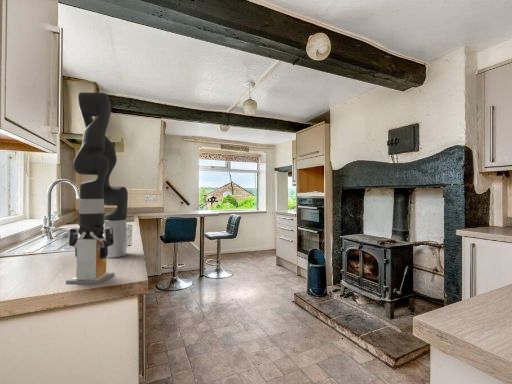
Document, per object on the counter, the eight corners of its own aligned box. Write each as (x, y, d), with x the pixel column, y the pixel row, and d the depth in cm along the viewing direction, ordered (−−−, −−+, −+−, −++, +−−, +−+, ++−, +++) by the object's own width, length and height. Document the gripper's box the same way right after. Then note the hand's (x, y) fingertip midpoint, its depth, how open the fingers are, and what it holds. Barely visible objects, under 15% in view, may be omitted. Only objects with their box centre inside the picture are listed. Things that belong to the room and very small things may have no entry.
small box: (96, 279, 86) (96, 240, 86) (75, 280, 85) (75, 240, 85) (106, 271, 94) (107, 236, 94) (88, 272, 93) (88, 236, 93)
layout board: (84, 274, 94) (84, 271, 94) (114, 275, 94) (114, 272, 94) (66, 283, 85) (66, 279, 85) (98, 283, 85) (98, 280, 85)
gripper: (117, 211, 93) (117, 255, 93) (79, 211, 94) (79, 255, 94) (105, 212, 86) (104, 261, 86) (63, 212, 86) (63, 260, 86)
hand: (91, 258), depth 90 cm, fingers open, 8 cm apart
